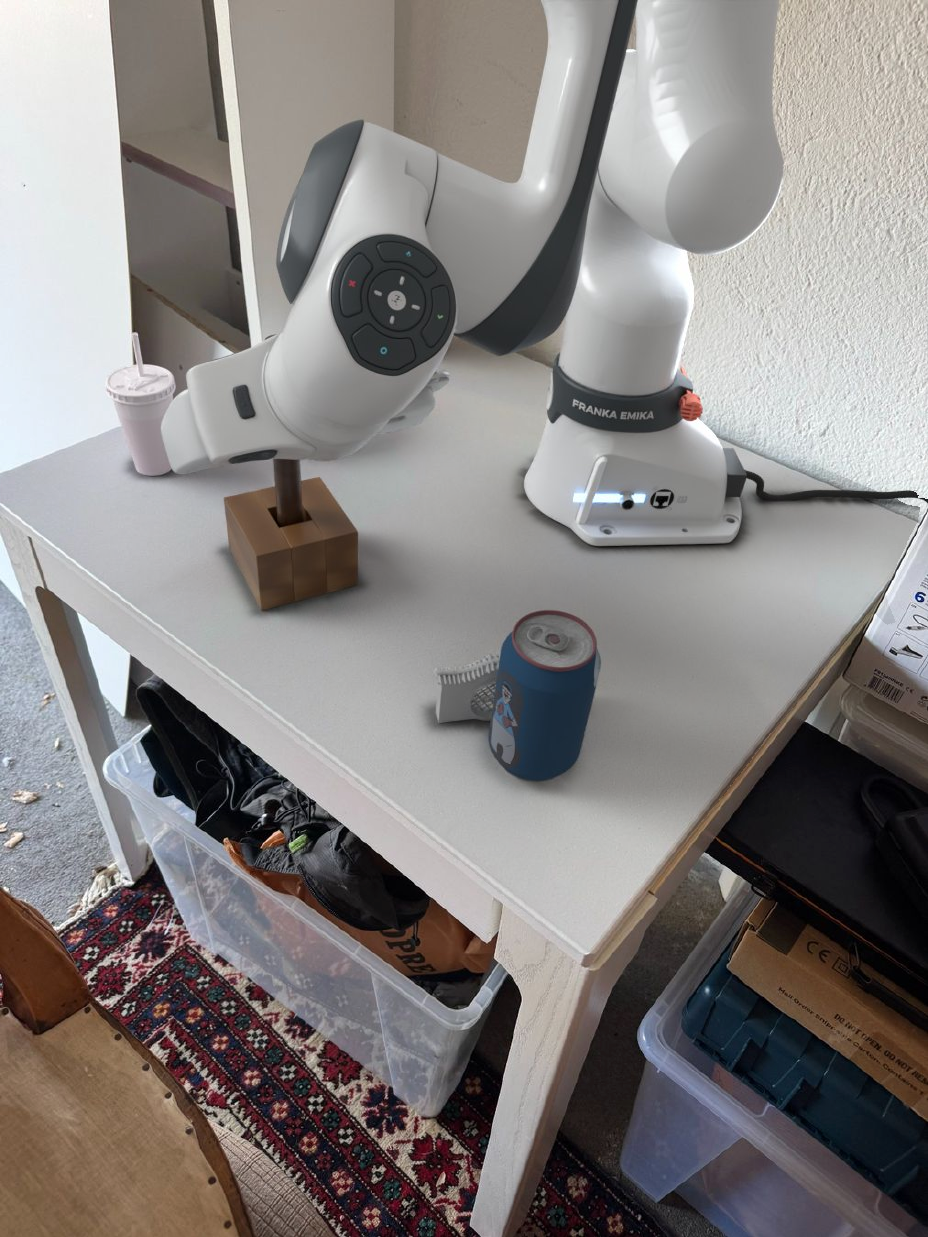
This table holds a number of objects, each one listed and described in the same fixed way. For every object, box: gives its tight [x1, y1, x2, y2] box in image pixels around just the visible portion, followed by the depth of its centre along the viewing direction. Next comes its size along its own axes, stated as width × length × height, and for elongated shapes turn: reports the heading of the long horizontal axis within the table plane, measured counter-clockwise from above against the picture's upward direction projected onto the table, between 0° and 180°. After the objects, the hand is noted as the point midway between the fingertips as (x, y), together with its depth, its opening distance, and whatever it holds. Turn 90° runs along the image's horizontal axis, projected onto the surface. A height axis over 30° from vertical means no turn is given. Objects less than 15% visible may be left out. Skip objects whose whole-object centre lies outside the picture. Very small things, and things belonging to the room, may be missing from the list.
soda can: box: [488, 609, 602, 783], centre depth 66 cm, size 7×7×12 cm
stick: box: [264, 333, 303, 528], centre depth 77 cm, size 2×2×22 cm
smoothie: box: [104, 332, 177, 477], centre depth 90 cm, size 6×6×14 cm
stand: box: [223, 476, 359, 611], centre depth 82 cm, size 9×9×6 cm
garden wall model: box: [434, 653, 501, 724], centre depth 71 cm, size 12×2×6 cm, turn 102°
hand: (283, 444), depth 76 cm, fingers open, 6 cm apart
